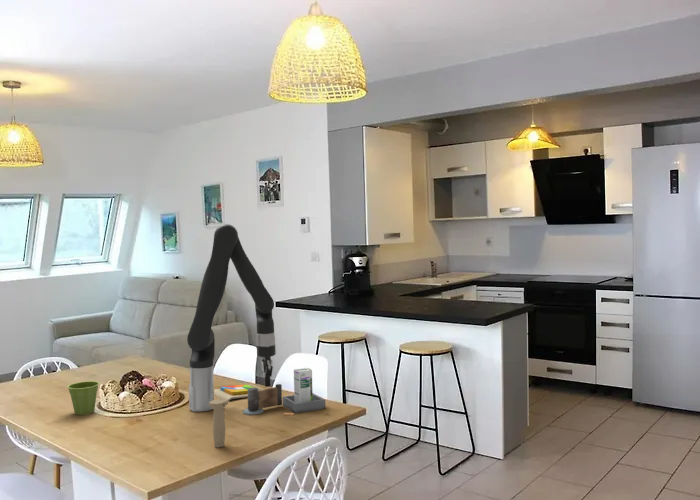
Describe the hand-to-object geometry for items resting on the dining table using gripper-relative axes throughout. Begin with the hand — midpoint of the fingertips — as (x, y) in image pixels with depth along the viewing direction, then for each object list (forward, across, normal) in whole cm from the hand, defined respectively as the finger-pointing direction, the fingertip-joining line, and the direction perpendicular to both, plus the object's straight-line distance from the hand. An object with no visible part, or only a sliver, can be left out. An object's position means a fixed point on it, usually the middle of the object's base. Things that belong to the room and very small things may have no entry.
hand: (267, 386), depth 250 cm
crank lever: (+7, +6, -2) cm, 9 cm away
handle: (+8, +42, -24) cm, 49 cm away
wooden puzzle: (+8, -22, -9) cm, 25 cm away
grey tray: (+8, +7, +13) cm, 17 cm away
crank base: (+8, +10, -2) cm, 13 cm away
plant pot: (+7, -16, -70) cm, 73 cm away
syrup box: (+8, +7, +13) cm, 17 cm away
